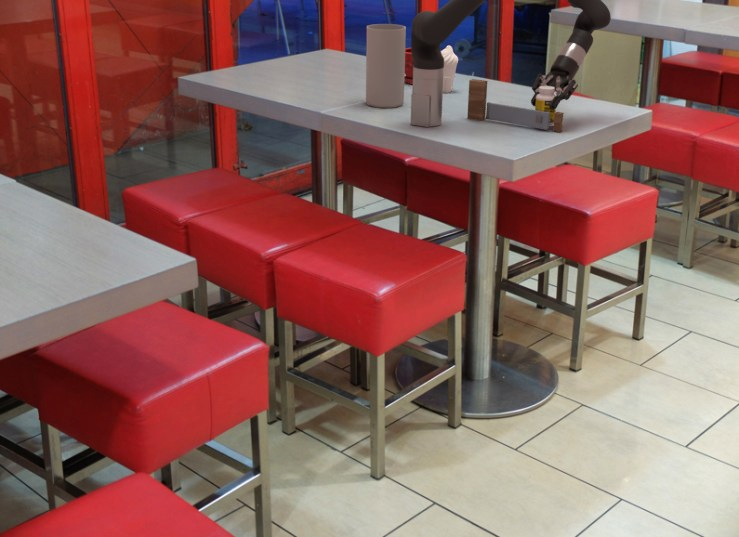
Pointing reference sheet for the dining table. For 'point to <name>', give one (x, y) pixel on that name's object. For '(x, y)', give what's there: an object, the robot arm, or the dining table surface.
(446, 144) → the dining table surface
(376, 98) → the cylinder vase
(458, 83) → the dining table surface
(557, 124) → the wooden blocks
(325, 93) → the dining table surface
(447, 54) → the soft serve ice cream cone
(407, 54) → the plant pot
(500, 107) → the gate
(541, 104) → the pill bottle
